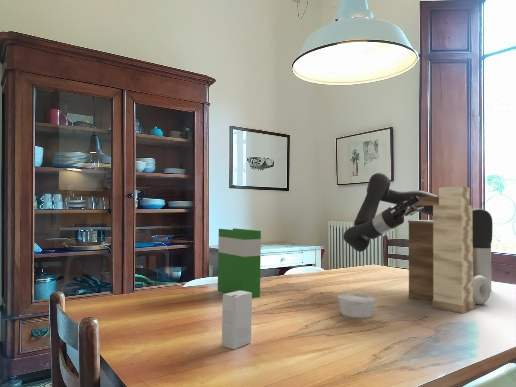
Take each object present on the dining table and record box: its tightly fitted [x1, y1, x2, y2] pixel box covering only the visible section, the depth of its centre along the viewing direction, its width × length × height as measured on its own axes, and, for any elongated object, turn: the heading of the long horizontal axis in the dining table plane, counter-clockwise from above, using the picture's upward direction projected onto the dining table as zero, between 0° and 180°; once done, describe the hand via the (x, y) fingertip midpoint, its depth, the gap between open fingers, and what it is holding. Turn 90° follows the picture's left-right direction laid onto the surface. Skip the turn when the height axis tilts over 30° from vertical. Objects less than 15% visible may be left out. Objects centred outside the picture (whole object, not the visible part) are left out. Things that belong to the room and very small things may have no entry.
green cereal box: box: [217, 227, 262, 299], centre depth 147 cm, size 18×7×24 cm, turn 36°
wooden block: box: [431, 205, 476, 314], centre depth 130 cm, size 10×10×34 cm
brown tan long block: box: [411, 186, 471, 206], centre depth 135 cm, size 7×18×6 cm, turn 41°
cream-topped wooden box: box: [407, 219, 433, 301], centre depth 146 cm, size 12×13×28 cm
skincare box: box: [221, 291, 253, 350], centre depth 92 cm, size 6×4×12 cm
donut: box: [473, 275, 491, 306], centre depth 135 cm, size 10×4×10 cm, turn 120°
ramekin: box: [337, 293, 376, 319], centre depth 120 cm, size 11×11×5 cm
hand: (423, 198), depth 138 cm, fingers open, 8 cm apart
